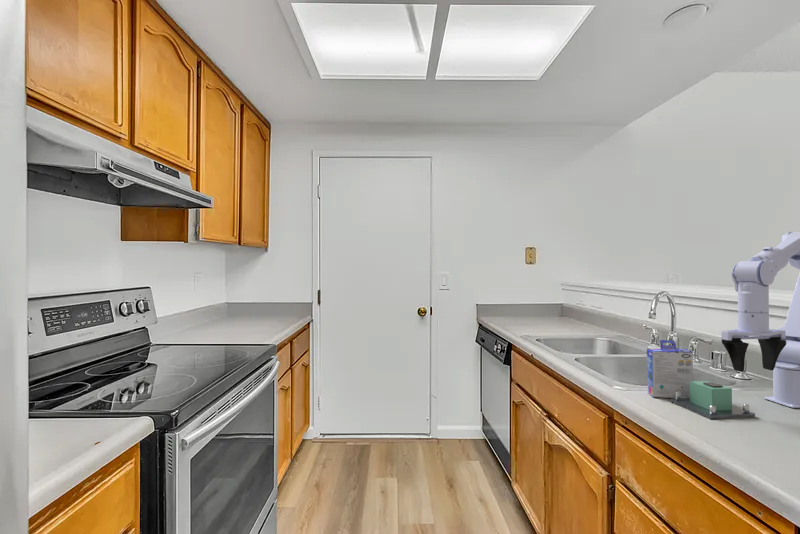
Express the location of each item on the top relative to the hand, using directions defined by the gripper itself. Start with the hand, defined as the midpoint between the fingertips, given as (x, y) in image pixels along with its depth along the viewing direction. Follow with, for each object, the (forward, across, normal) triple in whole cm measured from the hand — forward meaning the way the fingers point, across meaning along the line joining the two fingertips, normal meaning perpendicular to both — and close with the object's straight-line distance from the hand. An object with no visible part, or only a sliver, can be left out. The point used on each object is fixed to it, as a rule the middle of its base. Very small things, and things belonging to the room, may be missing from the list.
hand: (753, 370), depth 107 cm
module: (+9, -8, +4) cm, 13 cm away
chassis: (+10, -8, +4) cm, 13 cm away
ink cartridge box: (+10, -10, +15) cm, 21 cm away
